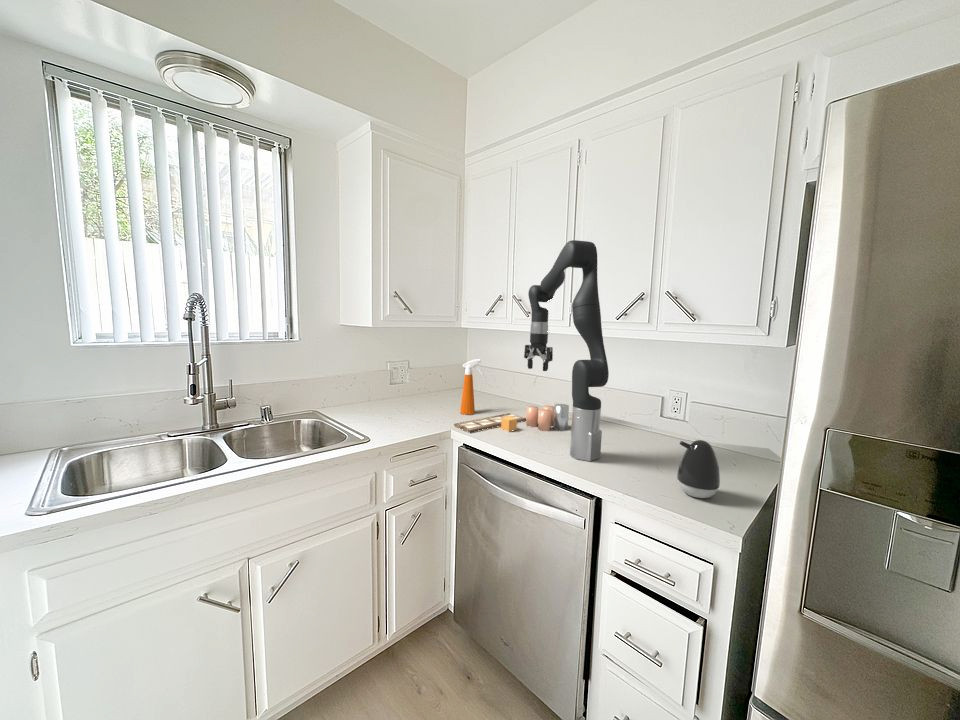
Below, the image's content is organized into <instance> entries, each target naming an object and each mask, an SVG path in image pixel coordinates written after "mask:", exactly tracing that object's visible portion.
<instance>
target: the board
mask: <svg viewBox="0 0 960 720" xmlns="http://www.w3.org/2000/svg"><path fill="white" fill-rule="evenodd" d="M508 416H510V417H513V418H516V419H517V422H519V423H522V422H521V421H523V422H526V417H522V416H519V415H516V414H513V413H510V412H509V413H502V414H499V415H493V416H487V417H483V418H478V419H471V420H467V421H462V422H456V423H453V427H454V426H455V428H457V429H459V428H460V429H459V430H462V429H463V430H462V431H464V430H466V431H465V432H467V431H468V432H467V433H469V432H473V433H475V432H474V431H477V432H479V431H478V430H482V429H487V428H491V429H493V428H492V427H496V428H498V427H497V426H500V427H501V418H503V417H508ZM487 430H488V429H487ZM482 431H483V430H482Z"/></svg>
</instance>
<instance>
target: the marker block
mask: <svg viewBox="0 0 960 720" xmlns="http://www.w3.org/2000/svg"><path fill="white" fill-rule="evenodd" d="M517 426H518V423H517V419H516V418H513V417H510V416H508V417H503V418H501V426H500V430H501V429H503V430H502V431H504V430H507V431H511V432H513V431H512V430H516V431H517ZM507 431H506V432H507Z"/></svg>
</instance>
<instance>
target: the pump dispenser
mask: <svg viewBox="0 0 960 720" xmlns="http://www.w3.org/2000/svg"><path fill="white" fill-rule="evenodd" d="M679 445H680V446H682V447H684V448H685V449H686V450H685V451H684V453H683V455H682V457H681V460H680V462H679V465H678V470H677V473H676V478H677V480H678V485H679V487H680V489H681V490H682V491H683V492H684V493H685V494H686V495H689V496H690V497H693V498H696V499H709V498H711V497H713V496H714V495H715V494H716V493H717V491H718V490H719V488H720V486H721V476H720V475H721V474H720V473H721V471H720V466H719V462H718V458H717V455H716V452H715V450H714V448H713V446H712V445H711V444H710V442H707V441H706V440H702V439H697V440H694V441H692V442H691V443H687V442H685V441H684V440H683V441H682V440H680V441H679Z"/></svg>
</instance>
